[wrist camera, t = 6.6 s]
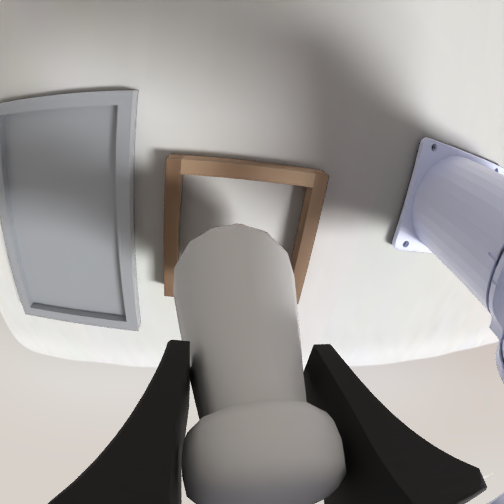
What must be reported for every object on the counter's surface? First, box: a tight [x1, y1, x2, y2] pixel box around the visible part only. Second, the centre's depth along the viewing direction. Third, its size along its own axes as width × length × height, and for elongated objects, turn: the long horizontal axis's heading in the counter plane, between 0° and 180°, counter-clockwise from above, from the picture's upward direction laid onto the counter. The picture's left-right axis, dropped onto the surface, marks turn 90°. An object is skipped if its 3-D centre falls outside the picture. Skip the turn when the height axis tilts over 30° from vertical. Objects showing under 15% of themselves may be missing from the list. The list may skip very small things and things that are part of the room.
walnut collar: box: [164, 154, 329, 304], centre depth 19 cm, size 9×9×1 cm
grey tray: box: [0, 90, 141, 331], centre depth 17 cm, size 10×16×1 cm, turn 172°
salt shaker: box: [173, 224, 347, 504], centre depth 11 cm, size 6×6×13 cm
